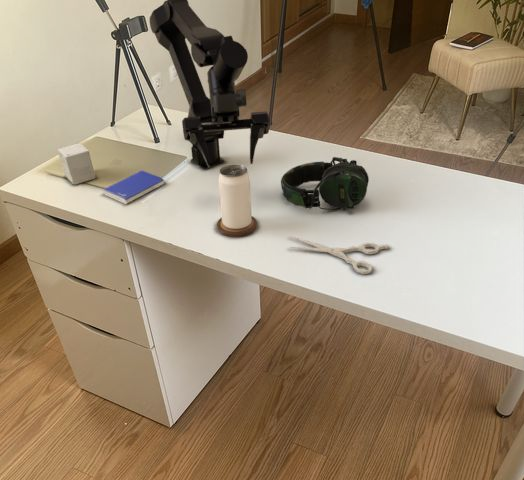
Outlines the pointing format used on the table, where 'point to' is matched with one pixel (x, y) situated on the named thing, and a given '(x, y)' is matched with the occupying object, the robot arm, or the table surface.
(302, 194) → the headphones
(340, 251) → the scissors
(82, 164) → the product box
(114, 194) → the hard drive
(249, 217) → the can
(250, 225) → the coaster
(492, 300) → the table surface
